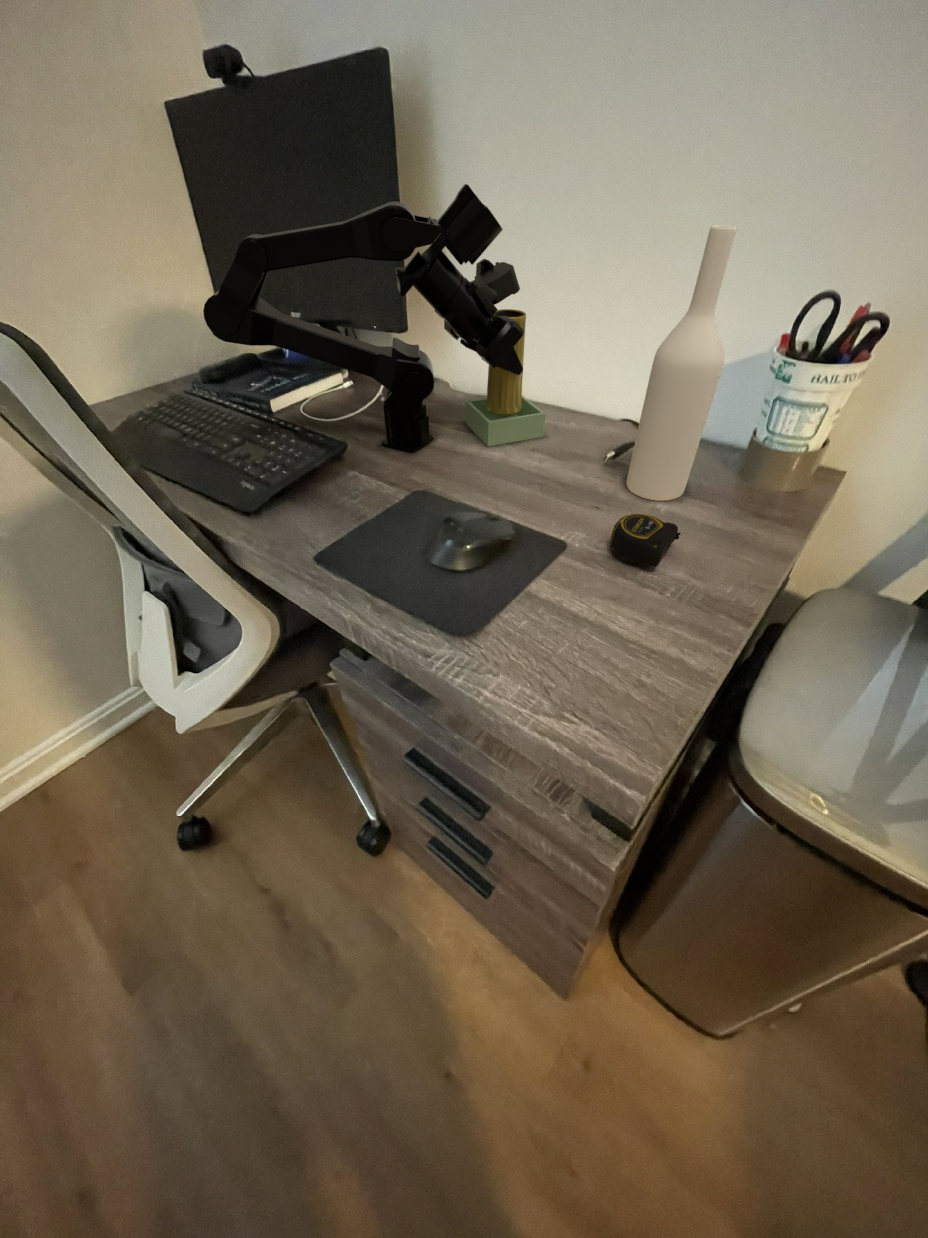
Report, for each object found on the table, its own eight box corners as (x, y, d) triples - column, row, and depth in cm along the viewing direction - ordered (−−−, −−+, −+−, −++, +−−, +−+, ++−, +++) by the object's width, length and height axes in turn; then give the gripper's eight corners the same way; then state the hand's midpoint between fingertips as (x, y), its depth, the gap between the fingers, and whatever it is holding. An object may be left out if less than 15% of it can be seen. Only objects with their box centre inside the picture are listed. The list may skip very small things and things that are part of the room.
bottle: (616, 490, 74) (671, 227, 53) (639, 469, 78) (698, 220, 58) (671, 507, 70) (753, 232, 50) (692, 484, 75) (774, 224, 54)
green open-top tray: (487, 446, 85) (488, 422, 82) (465, 423, 92) (465, 400, 89) (543, 437, 87) (545, 413, 85) (517, 415, 94) (519, 392, 92)
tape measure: (653, 577, 59) (662, 550, 56) (598, 556, 62) (604, 529, 59) (675, 549, 63) (684, 523, 60) (622, 531, 66) (629, 505, 63)
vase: (509, 400, 90) (516, 306, 80) (528, 412, 86) (537, 315, 76) (479, 405, 88) (481, 310, 78) (496, 418, 84) (501, 319, 74)
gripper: (515, 249, 64) (579, 339, 74) (462, 231, 77) (523, 310, 87) (455, 326, 67) (525, 402, 77) (414, 297, 80) (479, 365, 90)
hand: (513, 366), depth 83 cm, fingers closed on vase, 5 cm apart
